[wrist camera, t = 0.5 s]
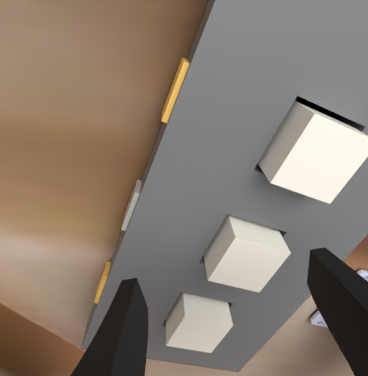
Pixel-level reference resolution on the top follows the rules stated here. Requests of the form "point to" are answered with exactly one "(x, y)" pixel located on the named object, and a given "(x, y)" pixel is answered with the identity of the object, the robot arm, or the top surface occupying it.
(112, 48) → the top surface
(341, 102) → the button board
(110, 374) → the robot arm
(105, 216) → the top surface
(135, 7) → the top surface
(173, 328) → the button
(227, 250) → the button middle
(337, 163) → the button
